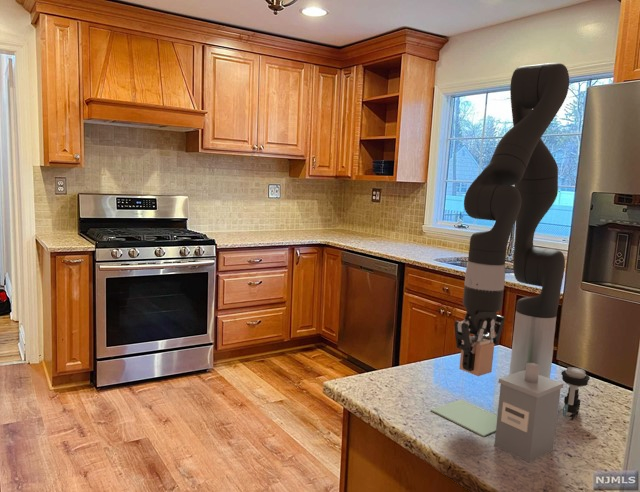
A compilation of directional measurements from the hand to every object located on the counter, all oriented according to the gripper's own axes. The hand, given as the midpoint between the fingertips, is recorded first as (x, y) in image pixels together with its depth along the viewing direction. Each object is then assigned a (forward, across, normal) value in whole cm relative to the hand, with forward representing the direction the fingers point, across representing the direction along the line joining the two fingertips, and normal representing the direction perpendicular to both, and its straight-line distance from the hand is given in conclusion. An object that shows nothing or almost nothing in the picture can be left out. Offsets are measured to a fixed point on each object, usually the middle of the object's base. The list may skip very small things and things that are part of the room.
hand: (475, 367), depth 106 cm
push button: (+11, +19, -11) cm, 25 cm away
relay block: (+1, 0, 0) cm, 1 cm away
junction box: (+11, -2, -13) cm, 17 cm away
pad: (+11, 0, 0) cm, 11 cm away
